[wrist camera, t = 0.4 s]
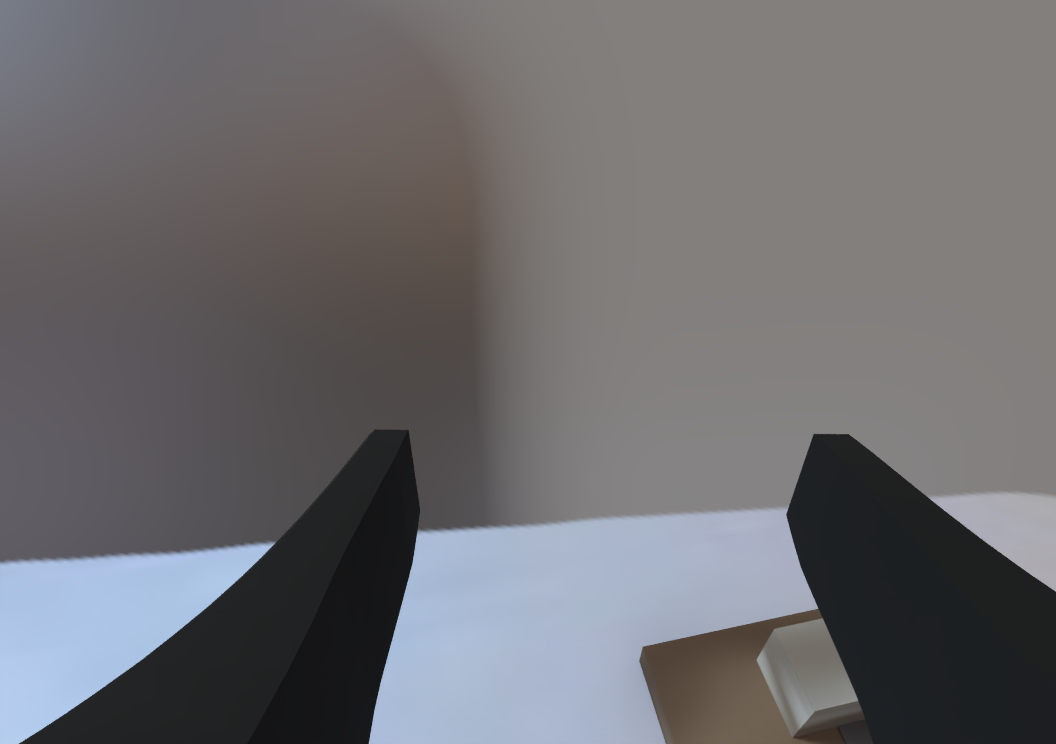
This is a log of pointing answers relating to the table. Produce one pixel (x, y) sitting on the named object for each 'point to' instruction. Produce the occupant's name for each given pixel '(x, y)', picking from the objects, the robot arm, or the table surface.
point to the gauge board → (755, 686)
